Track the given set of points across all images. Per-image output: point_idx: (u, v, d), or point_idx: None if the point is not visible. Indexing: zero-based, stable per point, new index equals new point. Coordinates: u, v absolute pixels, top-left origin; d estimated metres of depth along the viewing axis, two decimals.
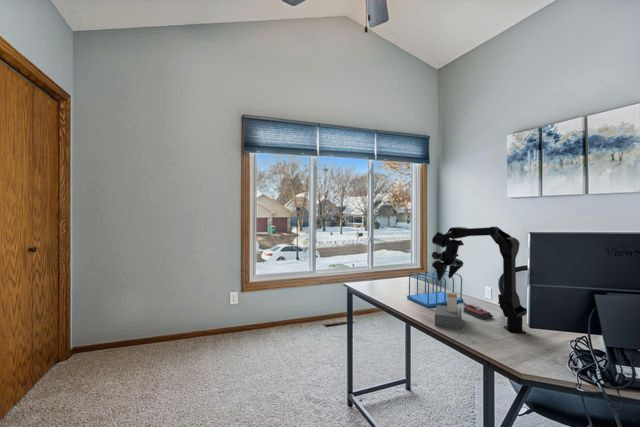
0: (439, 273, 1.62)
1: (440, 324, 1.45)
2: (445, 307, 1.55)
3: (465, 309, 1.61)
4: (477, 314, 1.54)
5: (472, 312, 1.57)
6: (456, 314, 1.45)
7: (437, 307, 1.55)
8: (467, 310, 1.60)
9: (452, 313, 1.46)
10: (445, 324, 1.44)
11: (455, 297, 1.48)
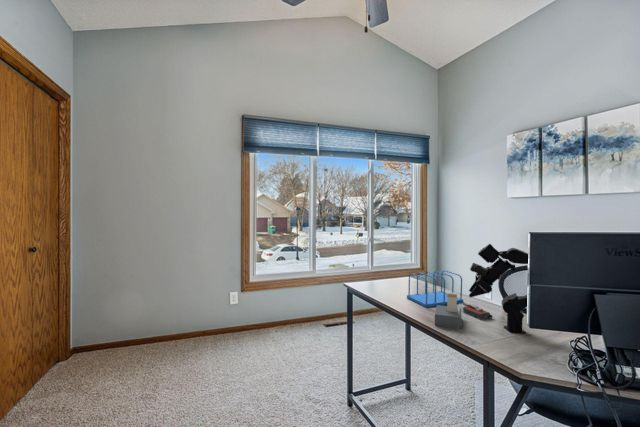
0: (477, 291, 1.40)
1: (440, 324, 1.45)
2: (445, 307, 1.55)
3: (465, 309, 1.61)
4: (476, 314, 1.54)
5: (471, 312, 1.57)
6: (456, 314, 1.45)
7: (437, 307, 1.55)
8: (467, 310, 1.60)
9: (452, 313, 1.46)
10: (445, 324, 1.44)
11: (455, 297, 1.48)
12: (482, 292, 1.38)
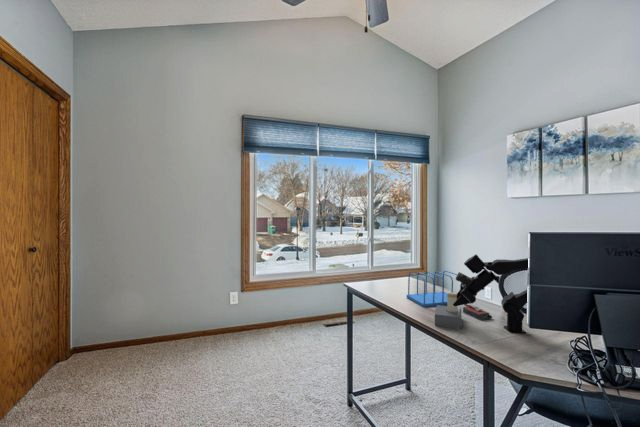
0: (461, 300, 1.42)
1: (440, 324, 1.45)
2: (445, 307, 1.55)
3: (464, 309, 1.61)
4: (475, 314, 1.54)
5: (471, 312, 1.57)
6: (456, 314, 1.45)
7: (437, 307, 1.55)
8: (466, 310, 1.60)
9: (452, 313, 1.46)
10: (445, 324, 1.44)
11: (455, 297, 1.48)
12: (466, 302, 1.41)
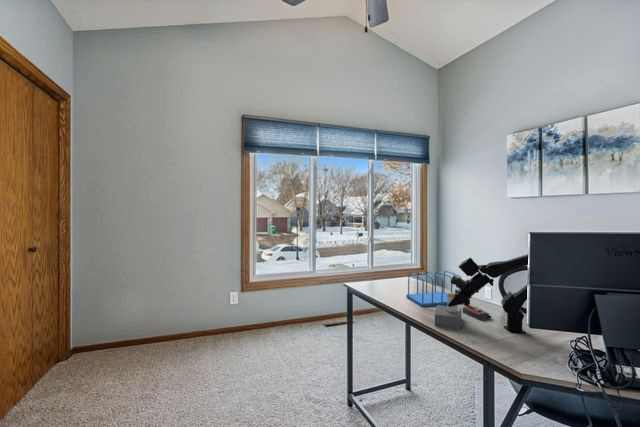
0: (455, 301, 1.46)
1: (440, 324, 1.45)
2: (445, 307, 1.55)
3: (464, 309, 1.61)
4: (475, 314, 1.54)
5: (470, 312, 1.57)
6: (456, 314, 1.45)
7: (437, 307, 1.55)
8: (466, 310, 1.60)
9: (452, 313, 1.46)
10: (445, 324, 1.44)
11: None
12: (460, 302, 1.45)
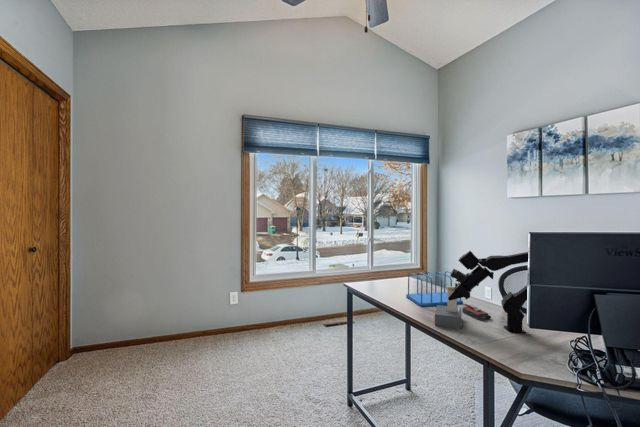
0: (456, 294, 1.46)
1: (440, 324, 1.45)
2: (445, 307, 1.55)
3: (464, 309, 1.61)
4: (474, 314, 1.54)
5: (470, 312, 1.57)
6: (456, 314, 1.45)
7: (437, 307, 1.55)
8: (465, 310, 1.60)
9: (452, 313, 1.46)
10: (445, 324, 1.44)
11: None
12: (461, 296, 1.45)
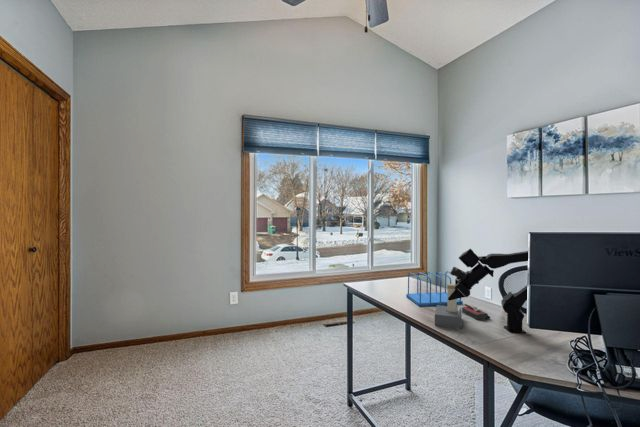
0: (455, 294, 1.43)
1: (440, 324, 1.45)
2: (445, 307, 1.55)
3: (463, 309, 1.61)
4: (473, 315, 1.54)
5: (469, 312, 1.57)
6: (456, 314, 1.45)
7: (437, 307, 1.55)
8: (465, 310, 1.60)
9: (452, 313, 1.46)
10: (445, 324, 1.44)
11: None
12: (461, 296, 1.41)
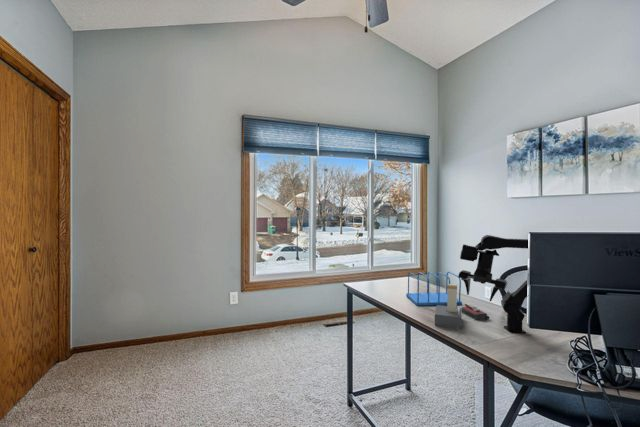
0: (495, 292, 1.40)
1: (440, 324, 1.45)
2: (445, 307, 1.55)
3: (463, 309, 1.61)
4: (473, 314, 1.54)
5: (468, 312, 1.57)
6: (456, 314, 1.45)
7: (437, 307, 1.55)
8: (464, 310, 1.60)
9: (452, 313, 1.46)
10: (445, 324, 1.44)
11: (455, 288, 1.48)
12: None
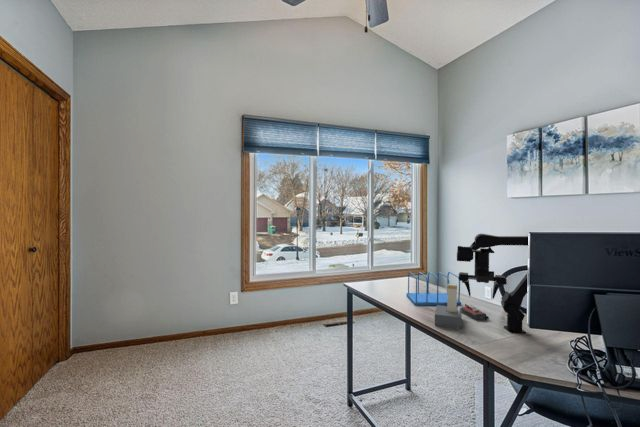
0: None
1: (440, 324, 1.45)
2: (445, 307, 1.55)
3: (462, 309, 1.61)
4: (472, 315, 1.54)
5: (468, 313, 1.57)
6: (456, 314, 1.45)
7: (437, 307, 1.55)
8: (464, 310, 1.60)
9: (452, 313, 1.46)
10: (445, 324, 1.44)
11: (455, 288, 1.48)
12: None
